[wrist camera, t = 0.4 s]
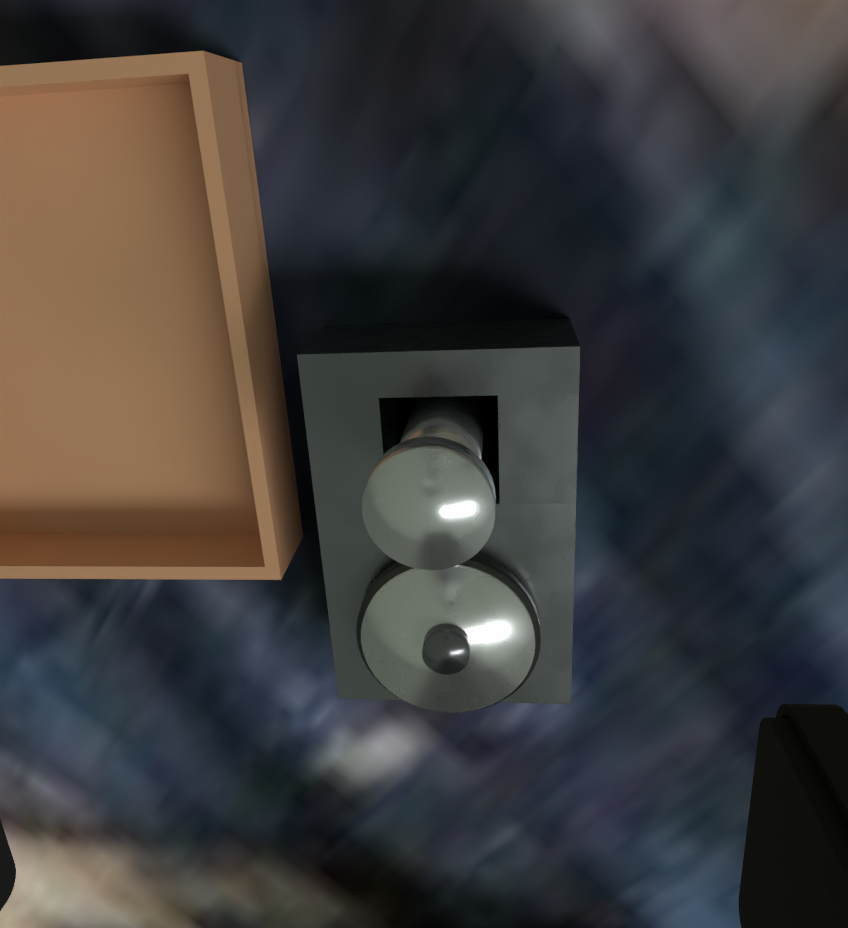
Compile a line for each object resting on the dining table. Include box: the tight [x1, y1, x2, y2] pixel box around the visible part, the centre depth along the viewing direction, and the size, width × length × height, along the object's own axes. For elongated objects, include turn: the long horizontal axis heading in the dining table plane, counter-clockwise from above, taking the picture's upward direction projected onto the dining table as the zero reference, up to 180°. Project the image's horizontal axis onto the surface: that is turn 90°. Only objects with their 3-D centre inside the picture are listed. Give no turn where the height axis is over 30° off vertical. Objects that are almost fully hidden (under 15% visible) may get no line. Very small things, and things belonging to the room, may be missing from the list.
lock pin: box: [362, 396, 496, 570], centre depth 36 cm, size 5×5×12 cm
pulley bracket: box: [297, 318, 580, 713], centre depth 40 cm, size 20×13×8 cm, turn 3°
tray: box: [0, 51, 303, 580], centre depth 40 cm, size 26×22×5 cm
